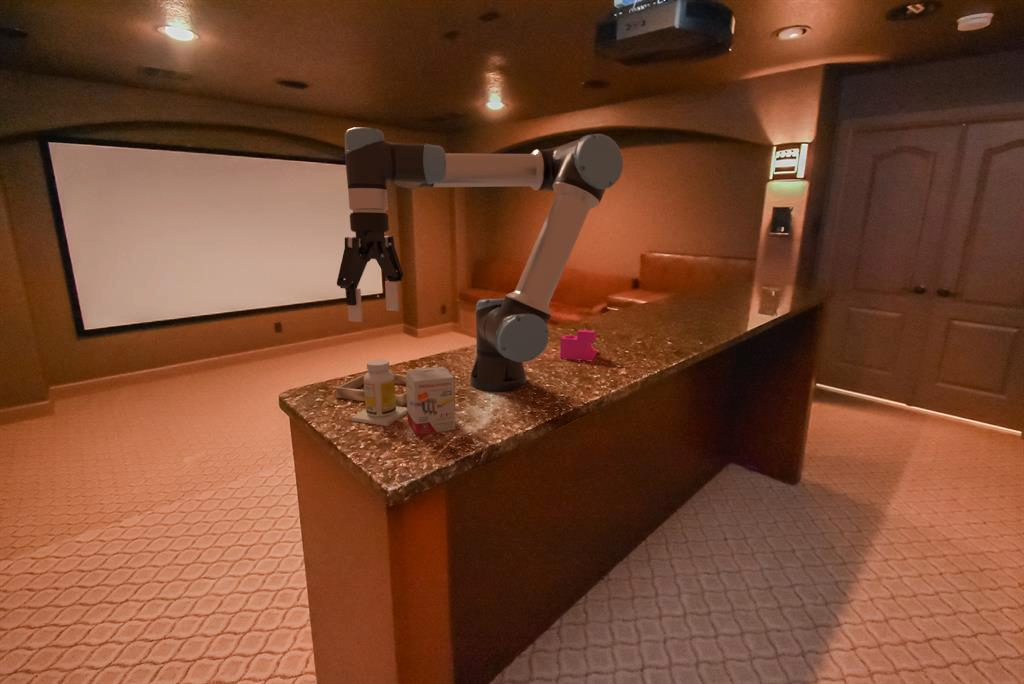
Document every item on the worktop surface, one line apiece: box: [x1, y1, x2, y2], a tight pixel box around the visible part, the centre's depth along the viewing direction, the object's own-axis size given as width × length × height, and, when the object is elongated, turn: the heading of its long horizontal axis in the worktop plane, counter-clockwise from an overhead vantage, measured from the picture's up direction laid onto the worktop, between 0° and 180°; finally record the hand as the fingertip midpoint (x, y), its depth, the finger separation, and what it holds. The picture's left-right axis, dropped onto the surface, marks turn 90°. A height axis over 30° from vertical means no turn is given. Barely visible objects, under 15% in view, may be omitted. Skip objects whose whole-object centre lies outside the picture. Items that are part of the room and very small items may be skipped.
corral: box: [334, 372, 407, 407], centre depth 121 cm, size 19×15×2 cm
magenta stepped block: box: [559, 329, 598, 361], centre depth 154 cm, size 12×10×10 cm
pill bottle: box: [363, 359, 396, 417], centre depth 104 cm, size 6×6×12 cm
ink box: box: [405, 366, 456, 436], centre depth 100 cm, size 9×9×12 cm
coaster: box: [350, 406, 407, 427], centre depth 106 cm, size 9×9×1 cm
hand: (375, 315), depth 101 cm, fingers open, 13 cm apart
